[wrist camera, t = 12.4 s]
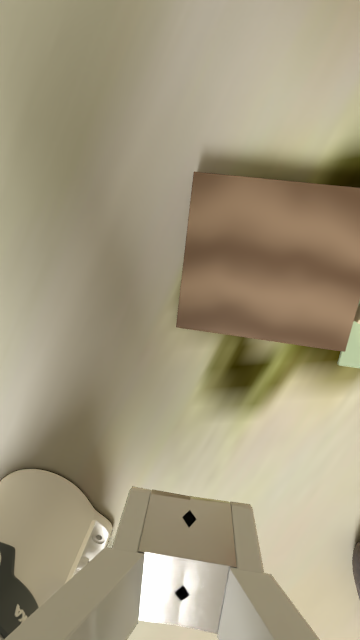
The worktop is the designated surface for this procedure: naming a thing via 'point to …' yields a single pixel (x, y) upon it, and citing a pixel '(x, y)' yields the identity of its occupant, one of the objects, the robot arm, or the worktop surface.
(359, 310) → the birch tile
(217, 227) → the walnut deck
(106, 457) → the worktop surface
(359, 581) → the grey stone
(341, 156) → the worktop surface
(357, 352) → the green mat
